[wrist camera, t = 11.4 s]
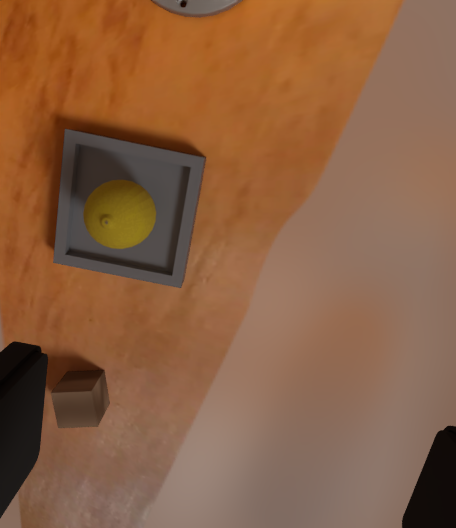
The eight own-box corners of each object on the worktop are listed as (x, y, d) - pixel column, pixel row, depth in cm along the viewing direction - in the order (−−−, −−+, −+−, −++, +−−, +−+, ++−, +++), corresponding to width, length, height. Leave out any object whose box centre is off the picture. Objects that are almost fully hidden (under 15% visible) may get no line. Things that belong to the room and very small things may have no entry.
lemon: (163, 239, 38) (143, 261, 31) (103, 235, 38) (69, 256, 31) (164, 178, 37) (144, 186, 29) (102, 174, 37) (66, 181, 29)
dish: (74, 129, 37) (64, 128, 35) (206, 157, 37) (204, 157, 35) (63, 256, 40) (53, 262, 38) (184, 280, 41) (181, 288, 39)
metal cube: (67, 371, 44) (50, 393, 40) (104, 369, 44) (91, 391, 40) (73, 404, 45) (58, 428, 41) (110, 402, 45) (97, 426, 41)
